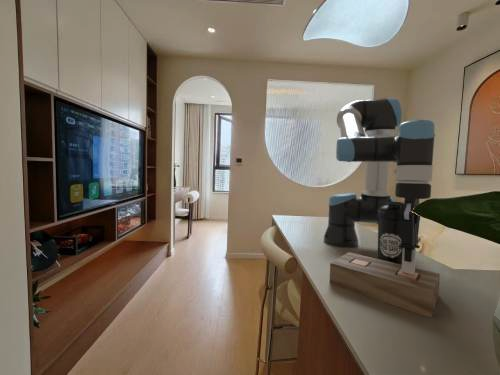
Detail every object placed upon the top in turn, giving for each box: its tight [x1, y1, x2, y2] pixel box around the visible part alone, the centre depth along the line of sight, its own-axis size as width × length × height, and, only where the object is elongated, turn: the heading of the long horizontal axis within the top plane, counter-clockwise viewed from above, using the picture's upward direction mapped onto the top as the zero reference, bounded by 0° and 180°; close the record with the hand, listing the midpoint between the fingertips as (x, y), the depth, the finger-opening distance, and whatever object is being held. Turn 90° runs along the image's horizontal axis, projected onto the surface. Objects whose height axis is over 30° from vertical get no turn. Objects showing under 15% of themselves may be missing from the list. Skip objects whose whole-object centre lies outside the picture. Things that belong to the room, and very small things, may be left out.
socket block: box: [329, 251, 441, 319], centre depth 66 cm, size 14×24×6 cm, turn 46°
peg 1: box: [351, 259, 369, 267], centre depth 70 cm, size 4×4×6 cm
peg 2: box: [397, 269, 418, 281], centre depth 62 cm, size 4×4×6 cm
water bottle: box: [377, 201, 404, 265], centre depth 80 cm, size 10×10×23 cm
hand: (408, 272), depth 62 cm, fingers closed
